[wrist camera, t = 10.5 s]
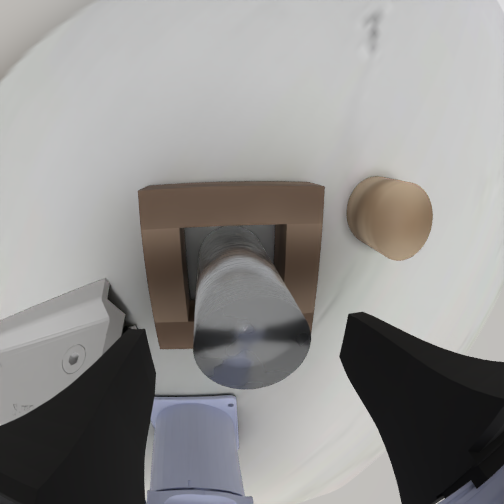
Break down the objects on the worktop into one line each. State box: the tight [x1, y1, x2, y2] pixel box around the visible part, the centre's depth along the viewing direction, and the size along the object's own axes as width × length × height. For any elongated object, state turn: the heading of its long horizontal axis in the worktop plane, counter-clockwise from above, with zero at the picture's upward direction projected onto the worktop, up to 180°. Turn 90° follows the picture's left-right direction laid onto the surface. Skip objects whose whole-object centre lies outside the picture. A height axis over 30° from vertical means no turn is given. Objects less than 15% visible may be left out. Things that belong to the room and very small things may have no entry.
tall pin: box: [193, 226, 311, 389], centre depth 13 cm, size 4×4×9 cm
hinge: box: [0, 278, 137, 425], centre depth 14 cm, size 17×5×10 cm, turn 107°
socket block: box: [138, 181, 325, 349], centre depth 16 cm, size 10×10×3 cm
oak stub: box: [347, 176, 433, 261], centre depth 16 cm, size 5×5×4 cm
